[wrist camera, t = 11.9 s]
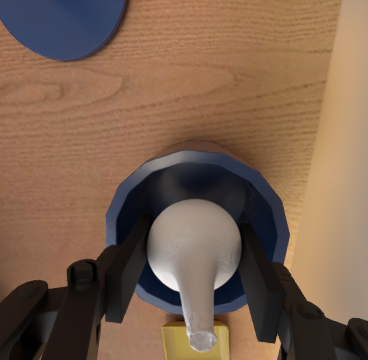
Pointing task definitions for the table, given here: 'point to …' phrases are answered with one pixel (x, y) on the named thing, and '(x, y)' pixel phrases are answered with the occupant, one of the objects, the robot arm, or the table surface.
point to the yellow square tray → (180, 346)
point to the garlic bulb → (195, 260)
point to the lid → (62, 25)
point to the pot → (206, 190)
